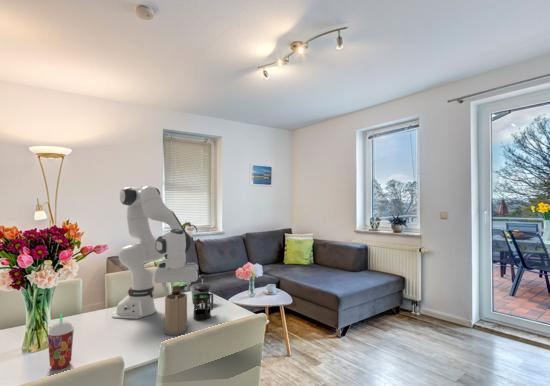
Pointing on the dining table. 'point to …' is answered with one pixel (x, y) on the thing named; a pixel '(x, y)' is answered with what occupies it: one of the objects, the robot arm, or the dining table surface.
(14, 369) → the dining table surface
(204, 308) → the french press
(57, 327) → the smoothie
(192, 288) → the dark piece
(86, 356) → the dining table surface
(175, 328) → the kraft paper canister
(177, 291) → the plunger
